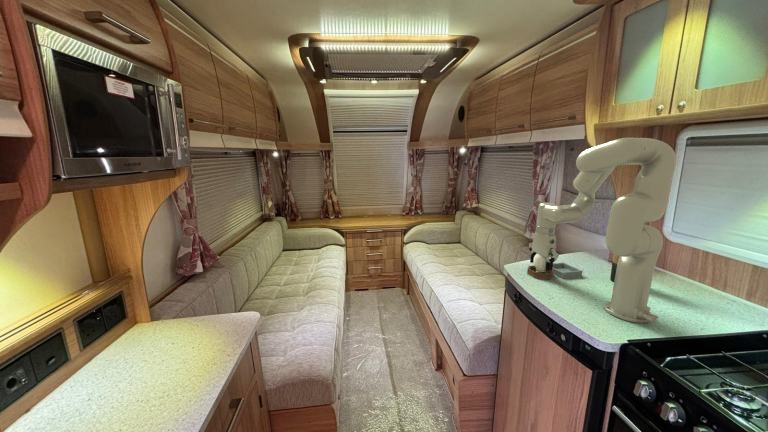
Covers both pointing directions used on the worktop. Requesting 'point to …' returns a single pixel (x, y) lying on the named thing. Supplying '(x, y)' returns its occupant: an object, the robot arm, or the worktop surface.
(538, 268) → the light bulb
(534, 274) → the holder ring
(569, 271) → the tray
